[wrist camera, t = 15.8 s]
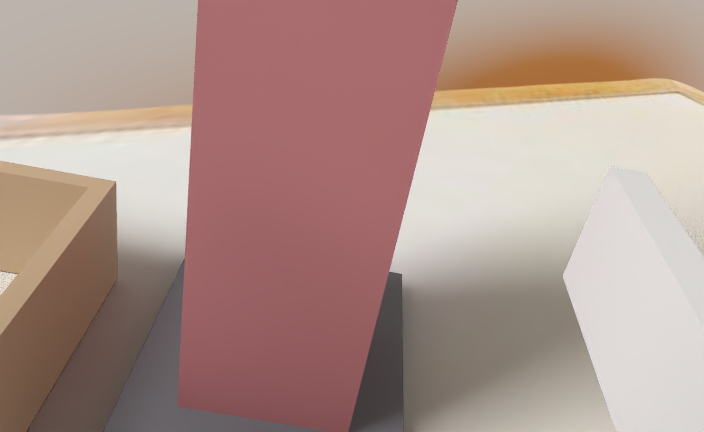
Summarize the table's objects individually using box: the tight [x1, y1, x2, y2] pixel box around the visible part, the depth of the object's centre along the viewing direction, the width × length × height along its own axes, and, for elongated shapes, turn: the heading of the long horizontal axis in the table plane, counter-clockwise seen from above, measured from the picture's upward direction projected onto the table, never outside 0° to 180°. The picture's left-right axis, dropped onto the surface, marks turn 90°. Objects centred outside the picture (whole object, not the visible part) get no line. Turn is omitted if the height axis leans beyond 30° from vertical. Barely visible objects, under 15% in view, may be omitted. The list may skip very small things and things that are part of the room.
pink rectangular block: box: [177, 0, 458, 432], centre depth 21 cm, size 6×6×20 cm
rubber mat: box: [103, 259, 403, 432], centre depth 26 cm, size 10×14×1 cm
